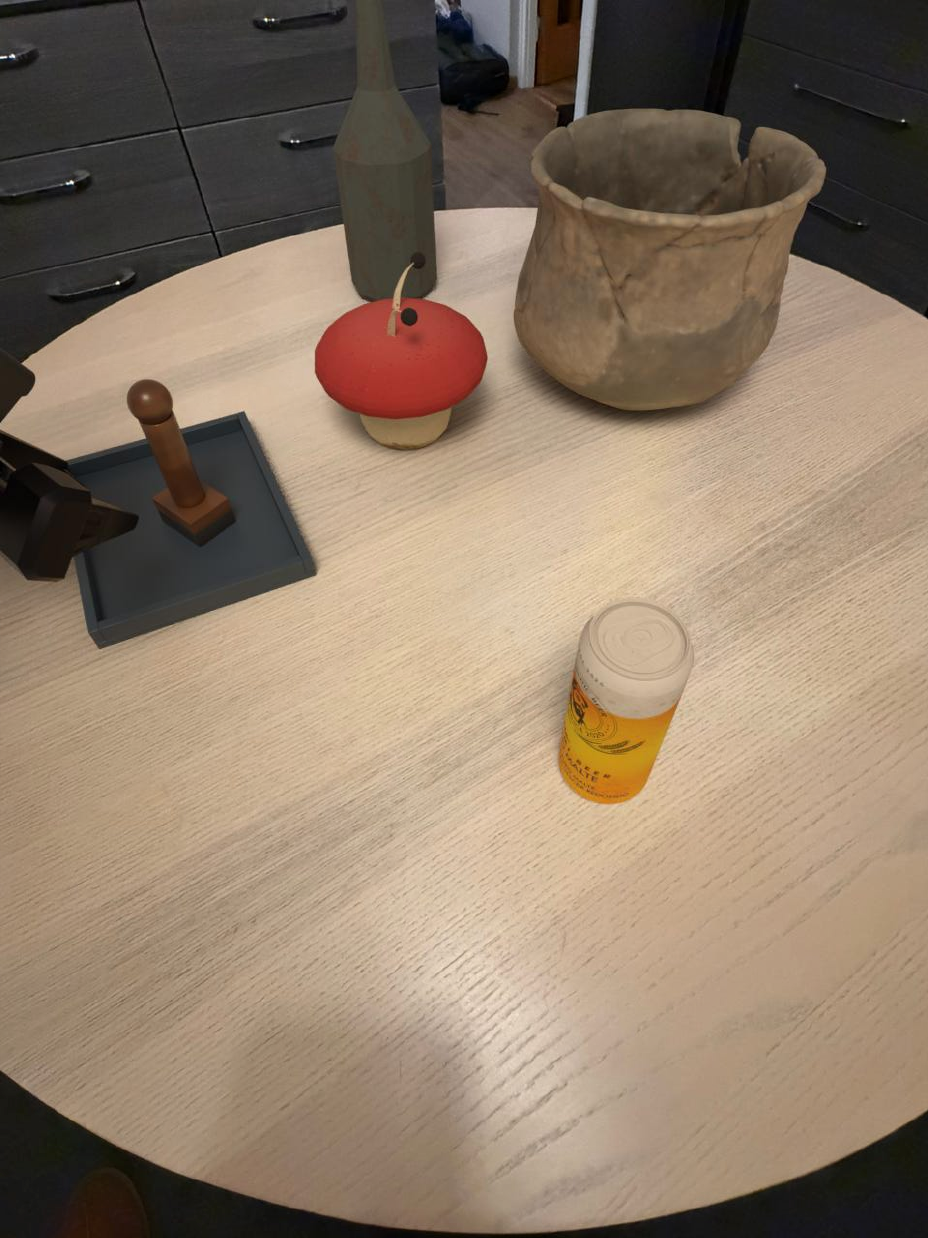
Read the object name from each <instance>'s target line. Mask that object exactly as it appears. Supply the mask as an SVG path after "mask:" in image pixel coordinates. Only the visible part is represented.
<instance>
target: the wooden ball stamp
mask: <svg viewBox="0 0 928 1238" xmlns="http://www.w3.org/2000/svg"><path fill="white" fill-rule="evenodd" d="M126 405H127V408H128V410H129V412H130V413H131V414H132V416H133V417H134V418H135V419H137V420H138V422H139V425H140V427H141V430H142V432H143V434H144V437H145V438H146V439H147V441H148V443H149V446H150V448H151V450H152V453H153V455H154V457H155V459H156V462H157V464H158V466H159V469H160V471H161V473H162V476H163V478H164V480H165V482H166V485H167V488H166V489H164V490H163V491H161V492H160V493H158V494H157V495H155V496H154V497H152V500H153V502H154V504H155V506H156V508H157V510H158V512H159V514H160V516H161V519H162V521H163V522H165V523H166V524H167V525H169V526H170V527H172V528H173V529H175V530H176V531H178V532H179V533H180V534H182V535H183V536H185V537H186V538H188V539H189V540H190V541H192V542H193V543H195V544H196V545H198V546H199V547H202V546H203V545H204V544H206V543H207V542H209V541H210V540H211V539H213V538H214V537H215V536H217V535H218V534H220V533H221V532H222V531H224V530H225V529H226V528H228V527H229V526H231V525H232V524H233V523H235V522H236V520H235V517H234V514H233V511H232V509H231V505H230V503H229V500H228V498H227V497H226V496H224V495H222V494H221V493H219V492H218V491H216V490H215V489H213V488H211V487H210V486H208V485H207V484H205V483H204V482H202V481H201V480H200V479H199V477H198V474H197V471H196V469H195V466H194V464H193V461H192V459H191V456H190V453H189V451H188V448H187V446H186V443H185V441H184V438H183V435H182V433H181V430H180V429H181V428H180V425H179V423H178V420H177V417H176V415H175V412H174V410H173V409H174V399H173V396H172V394H171V392H170V390H169V389H168V388H167V387H166V386H165V385H164V384H163V383H161V381H160V382H159V381H157V380H155V379H149V378H146V379H140V380H137V381H136V382H134V383H133V384H132V385H130V387H129V389H128V391H127V393H126Z"/></svg>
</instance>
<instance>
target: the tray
mask: <svg viewBox="0 0 928 1238" xmlns="http://www.w3.org/2000/svg"><path fill="white" fill-rule="evenodd" d="M180 430H181V433H182V435H183V438H184V441H185V443H186V446H187V448H188V451H189V453H190V456H191V459H192V461H193V464H194V466H195V469H196V471H197V474H198V477H199V479H200V480H201V481H202V482H204V483H205V484H207V485H208V486H210V487H211V488H213V489H215V490H216V491H218V492H219V493H221V494H222V495H224V496H226V497H227V498H228V500H229V503H230V505H231V509H232V511H233V514H234V517H235V520H236V522H235V523H233V524H232V525H231V526H229V527H228V528H226V529H225V530H224V531H222V532H221V533H220V534H218V535H217V536H215V537H214V538H213V539H211V540H210V541H209V542H207V543H206V544H204V545H203V546H202V547H199V546H198V545H196V544H195V543H193V542H192V541H190V540H189V539H188V538H186V537H185V536H183V535H182V534H180V533H179V532H178V531H176V530H175V529H173V528H172V527H170V526H169V525H167V524H166V523H165V522H163V521H162V519H161V516H160V514H159V512H158V510H157V508H156V506H155V504H154V502H153V500H152V497H154V496H155V495H157V494H158V493H160V492H161V491H163V490H164V489H166V488H167V485H166V482H165V480H164V478H163V476H162V473H161V471H160V469H159V466H158V464H157V462H156V459H155V457H154V455H153V453H152V450H151V448H150V446H149V443H148V441H147V439H146V437H145V438H142V439H138V440H135V441H131V442H128V443H124V444H120V445H117V446H113V447H108V448H105V449H102V450H99V451H95V452H92V453H91V452H90V453H88V454H84V455H82V456H77V457H73V458H69V459H66V460H65V461H66V462H68V467H67V470H66V471H67V472H69V473H70V474H71V475H72V476H74V477H75V478H76V479H78V480H79V481H80V482H82V483H83V484H84V485H85V486H86V487H87V488H88V489H89V491H90V493H91V498H93V499H96V500H99V501H102V502H105V503H108V504H111V505H114V506H116V507H119V508H122V509H125V510H127V511H130V512H133V513H135V514H137V515H138V516H139V520H138V523H137V525H136V528H135V529H134V530H132V531H130V532H127V533H125V534H122V535H120V536H118V537H115V538H113V539H111V540H108V541H106V542H103V543H101V544H99V545H96V546H94V547H92V548H90V549H88V550H86V551H84V552H82V553H80V554H78V555H76V556H75V557H73V560H74V566H75V572H76V576H77V582H78V586H79V592H80V598H81V602H82V603H81V604H82V608H83V614H84V619H85V623H86V629H87V633H88V635H89V637H90V638H91V639H92V642H94V644H95V646H96V647H97V648H98V650H101V649H104V648H107V647H109V646H112V645H115V644H119V643H121V642H125V641H127V640H131V639H134V638H136V637H139V636H142V635H145V634H148V633H151V632H153V631H157V630H159V629H162V628H165V627H168V626H171V625H175V624H177V623H179V622H183V621H187V620H189V619H193V618H195V617H198V616H201V615H203V614H206V613H207V614H208V612H212V611H215V610H219V609H222V608H225V607H226V606H229V605H233V604H235V603H238V602H241V601H245V600H247V599H250V598H254V597H256V596H259V595H262V594H265V593H267V592H271V591H274V590H277V589H279V588H283V587H285V586H288V585H292V584H294V583H297V582H300V581H303V580H306V579H309V578H312V577H315V576H317V572H316V567H315V564H314V560H313V557H312V554H311V552H310V551H309V548H308V546H307V544H306V541H305V539H304V537H303V535H302V532H301V530H300V528H299V527H298V525H297V521H296V520H295V518H294V516H293V514H292V511H291V509H290V507H289V505H288V503H287V500H286V498H285V496H284V494H283V491H282V489H281V488H280V487H281V486H280V485H279V483H278V481H277V479H276V476H275V474H274V472H273V470H272V468H271V466H270V463H269V461H268V459H267V457H266V455H265V452H264V450H263V449H262V448H263V447H262V446H261V444H260V442H259V440H258V438H257V435H256V433H255V431H254V429H253V427H252V424H251V422H250V420H249V418H248V416H247V414H246V412H245V410H242V411H239V412H236V413H232V414H228V415H225V416H222V417H221V416H220V417H218V418H214V419H211V420H207V421H204V422H200V423H197V424H193V425H189V426H185V427H182V428H180Z"/></svg>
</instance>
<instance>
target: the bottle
mask: <svg viewBox="0 0 928 1238" xmlns="http://www.w3.org/2000/svg"><path fill="white" fill-rule="evenodd" d="M355 27H356V28H355V30H356V31H355V32H356V33H355V35H356V74H357V75H356V76H357V78H356V79H357V86H356V89H355V91H354V94H353V97H352V99H351V101H350V104H349V107H348V109H347V112H346V115H345V116H344V120H343V121H342V124H341V127H340V129H339V132H338V134H337V136H336V139H335V142H334V145H333V146H332V151H333V156H334V157H333V158H334V164H335V165H334V166H335V171H336V179H337V186H338V193H339V201H340V207H341V213H342V214H341V215H342V222H343V229H344V235H345V236H344V237H345V243H346V251H347V258H348V264H349V271H350V272H349V273H350V280H351V283H352V284H353V286H354V289H356V291H357V293H358V295H359V296H361V298H362V299H363V300H364V301H367V302H369V303H371V302H375V301H379V300H383V299H392V298H393V297H394V292H395V289H396V287H397V285H398V282H399V280H400V278H401V276H402V274H403V273H404V271H405V270H406V268H408V267H409V266H410V265H411V262H410V259H411V255H412V254H414V253H415V252H420V253H422V254H423V255H424V256H425V259H426V261H425V265H424V266H423V267H422V268H420V269H417V268H414V267H413V266H411V267H410V269H409V270H408V272H407V275H406V277H405V280H404V284H403V287H402V291H401V298H415V299H424V297H426V296H427V295H428V294H430V293H431V292H432V291H433V289H434V288H435V285H436V283H437V279H438V270H437V249H436V247H437V246H436V245H437V244H436V227H435V226H436V225H435V223H436V222H435V205H434V203H435V202H434V185H433V184H434V183H433V160H432V159H433V158H432V143H431V141H430V140H429V138H428V137H427V135H426V133H425V132H424V130H423V128H422V126H421V125H420V123H419V122H418V120H417V119H416V117H415V115H414V113H413V111H412V110H411V108H410V107H409V105H408V103H407V102H406V100H405V99H404V96H403V95H402V94H401V92H400V90H399V88H398V87H397V85H396V81H395V76H394V75H395V74H394V67H393V62H392V56H391V50H390V43H389V39H388V38H389V37H388V31H387V25H386V19H385V12H384V6H383V1H382V0H355Z"/></svg>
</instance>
